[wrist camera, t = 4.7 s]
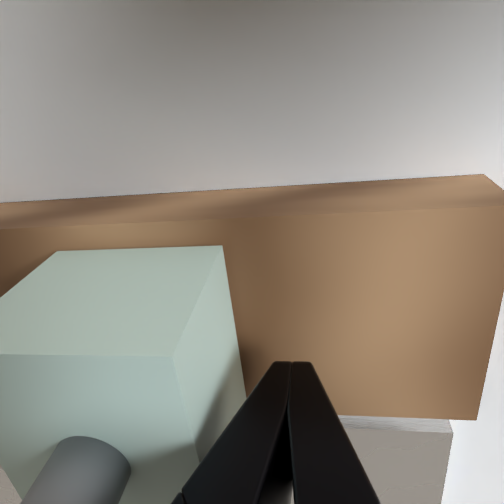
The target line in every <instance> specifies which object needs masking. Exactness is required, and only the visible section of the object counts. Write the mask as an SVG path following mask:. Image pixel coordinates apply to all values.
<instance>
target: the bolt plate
mask: <svg viewBox="0 0 504 504" xmlns="http://www.w3.org/2000/svg"><path fill="white" fill-rule="evenodd" d="M338 417H339V419H340V421H341V423H342V425H343V427H344V429H345V431H346V433H347V435H348V437H349V439H350V441H351V443H352V445H353V447H354V449H355V451H356V453H357V455H358V457H359V459H360V462H361V464H362V466H363V468H364V470H365V472H366V474H367V476H368V478H369V480H370V482H371V484H372V486H373V488H374V490H375V492H376V494H377V496H378V498H379V500H380V502H381V504H441V500H442V494H443V488H444V483H445V477H446V472H447V466H448V460H449V455H450V449H451V443H452V438H453V431H452V428H451V425H450V422H449V419H426V418H400V417H373V416H347V415H338ZM21 502H22V499H21V498H20V496H19V494H18V493H17V491H16V489H15V488H14V486H13V484H12V483H11V481H10V480H9V478H8V476H7V475H6V473H5V471H4V470H3V468H2V466H1V465H0V504H20V503H21ZM291 504H294V497H293V490H292V497H291Z"/></svg>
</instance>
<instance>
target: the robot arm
mask: <svg viewBox="0 0 504 504" xmlns="http://www.w3.org/2000/svg"><path fill="white" fill-rule="evenodd" d="M292 490H293V497H294V504H381V502H380V500H379V498H378V496H377V494H376V492H375V490H374V488H373V486H372V484H371V482H370V480H369V478H368V476H367V474H366V472H365V470H364V468H363V466H362V464H361V462H360V459H359V457H358V455H357V453H356V451H355V449H354V447H353V445H352V443H351V441H350V439H349V437H348V435H347V433H346V431H345V429H344V427H343V425H342V423H341V421H340V419H339V417H338V415H337V413H336V411H335V409H334V407H333V405H332V403H331V401H330V399H329V397H328V395H327V393H326V391H325V389H324V387H323V385H322V382H321V380H320V378H319V376H318V374H317V372H316V370H315V368H314V366H313V364H312V363H311V362H309V361H294V362H291V361H274V362H273V363H272V364H271V366H270V367H269V368H268V370H267V371H266V373H265V374H264V375H263V377H262V378H261V379H260V381H259V382H258V384H257V385H256V386H255V388H254V389H253V391H252V392H251V393H250V395H249V396H248V397H247V399H246V400H245V402H244V403H243V404H242V406H241V407H240V409H239V410H238V411H237V413H236V414H235V415H234V417H233V418H232V420H231V421H230V422H229V424H228V425H227V427H226V428H225V429H224V431H223V432H222V433H221V435H220V436H219V438H218V439H217V440H216V442H215V443H214V444H213V446H212V447H211V449H210V450H209V451H208V453H207V454H206V456H205V457H204V458H203V460H202V461H201V462H200V464H199V465H198V467H197V468H196V469H195V471H194V472H193V474H192V475H191V476H190V478H189V479H188V480H187V482H186V483H185V485H184V486H183V487H182V489H181V491H182V493H181V492H179V493H178V494H177V495H176V497H175V498H174V499H173V501H172V502H171V504H291V497H292Z"/></svg>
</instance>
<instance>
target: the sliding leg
mask: <svg viewBox="0 0 504 504" xmlns="http://www.w3.org/2000/svg"><path fill="white" fill-rule="evenodd" d="M245 400H246V392H245V386H244V380H243V373H242V367H241V361H240V354H239V348H238V342H237V335H236V329H235V323H234V316H233V310H232V304H231V297H230V291H229V285H228V278H227V272H226V266H225V259H224V253H223V247H222V245H218V246H189V247H161V248H132V249H103V250H75V251H57V252H55V253H54V254H53V255H52V256H50V257H49V258H48V259H47V260H46V261H44V262H43V263H42V264H41V265H39V266H38V267H37V268H36V269H35V270H33V271H32V272H31V273H30V274H29V275H27V276H26V277H25V278H24V279H22V280H21V281H20V282H19V283H18V284H16V285H15V286H14V287H13V288H11V289H10V290H9V291H8V292H7V293H5V294H4V295H3V296H2V297H0V465H1V466H2V468H3V470H4V471H5V473H6V475H7V476H8V478H9V480H10V481H11V483H12V484H13V486H14V488H15V489H16V491H17V493H18V494H19V496H20V498H21V499H22V502H21V503H20V504H171V502H172V501H173V499H174V498H175V497H176V495H177V494H178V493H179V492H181V493H182V491H181V489H182V487H183V486H184V485H185V483H186V482H187V480H188V479H189V478H190V476H191V475H192V474H193V472H194V471H195V469H196V468H197V467H198V465H199V464H200V462H201V461H202V460H203V458H204V457H205V456H206V454H207V453H208V451H209V450H210V449H211V447H212V446H213V444H214V443H215V442H216V440H217V439H218V438H219V436H220V435H221V433H222V432H223V431H224V429H225V428H226V427H227V425H228V424H229V422H230V421H231V420H232V418H233V417H234V415H235V414H236V413H237V411H238V410H239V409H240V407H241V406H242V404H243V403H244V402H245Z"/></svg>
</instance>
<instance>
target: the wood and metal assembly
mask: <svg viewBox="0 0 504 504" xmlns="http://www.w3.org/2000/svg"><path fill="white" fill-rule="evenodd" d="M218 245H222V247H223V253H224V259H225V266H226V272H227V278H228V285H229V291H230V297H231V304H232V310H233V316H234V323H235V329H236V335H237V342H238V348H239V354H240V361H241V367H242V373H243V380H244V386H245V392H246V399H247V397H248V396H249V395H250V393H251V392H252V391H253V389H254V388H255V386H256V385H257V384H258V382H259V381H260V379H261V378H262V377H263V375H264V374H265V373H266V371H267V370H268V368H269V367H270V366H271V364H272V363H273V362H274V361H291V362H294V361H309V362H311V363H312V364H313V366H314V368H315V370H316V372H317V374H318V376H319V378H320V380H321V382H322V385H323V387H324V389H325V391H326V393H327V395H328V397H329V399H330V401H331V403H332V405H333V407H334V409H335V411H336V413H337V415H347V416H373V417H400V418H426V419H452V420H477V415H478V410H479V406H480V401H481V396H482V391H483V387H484V382H485V377H486V372H487V368H488V363H489V358H490V353H491V349H492V344H493V339H494V334H495V330H496V325H497V320H498V316H499V311H500V306H501V301H502V297H503V292H504V190H503V189H502V188H500V187H499V186H498V185H497V184H495V183H494V182H493V181H492V180H490V179H489V178H488V177H487V176H485V175H484V174H479V175H462V176H445V177H428V178H412V179H395V180H378V181H361V182H344V183H328V184H311V185H294V186H277V187H260V188H244V189H227V190H210V191H193V192H176V193H160V194H143V195H126V196H109V197H92V198H76V199H59V200H42V201H25V202H9V203H0V297H2V296H3V295H4V294H5V293H7V292H8V291H9V290H10V289H11V288H13V287H14V286H15V285H16V284H18V283H19V282H20V281H21V280H22V279H24V278H25V277H26V276H27V275H29V274H30V273H31V272H32V271H33V270H35V269H36V268H37V267H38V266H39V265H41V264H42V263H43V262H44V261H46V260H47V259H48V258H49V257H50V256H52V255H53V254H54V253H55V252H57V251H75V250H103V249H132V248H161V247H189V246H218Z"/></svg>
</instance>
